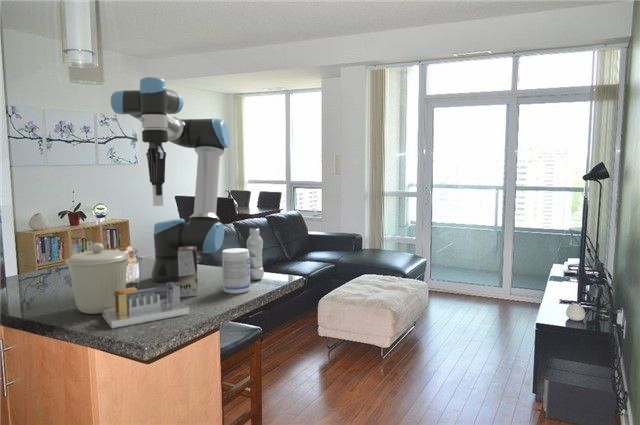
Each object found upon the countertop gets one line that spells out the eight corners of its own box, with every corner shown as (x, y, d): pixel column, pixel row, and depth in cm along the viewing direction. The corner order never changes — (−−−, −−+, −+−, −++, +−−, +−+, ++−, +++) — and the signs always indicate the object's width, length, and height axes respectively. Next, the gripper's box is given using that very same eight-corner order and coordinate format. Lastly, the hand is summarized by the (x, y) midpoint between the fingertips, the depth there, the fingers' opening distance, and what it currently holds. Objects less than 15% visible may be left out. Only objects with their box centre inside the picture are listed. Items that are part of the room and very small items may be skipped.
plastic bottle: (243, 280, 189) (242, 229, 187) (255, 276, 195) (253, 227, 193) (256, 282, 186) (254, 230, 184) (267, 278, 191) (266, 228, 189)
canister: (141, 309, 153) (138, 242, 151) (80, 322, 141) (76, 250, 139) (118, 298, 166) (115, 236, 164) (60, 309, 154) (56, 243, 152)
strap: (113, 296, 144) (113, 289, 143) (173, 288, 153) (173, 281, 153) (116, 299, 141) (115, 292, 141) (177, 290, 151) (176, 283, 151)
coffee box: (198, 296, 168) (196, 249, 166) (179, 297, 166) (177, 250, 165) (198, 289, 177) (196, 245, 175) (179, 290, 175) (178, 246, 173)
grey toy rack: (102, 315, 147) (100, 289, 146) (174, 303, 160) (173, 279, 159) (112, 328, 136) (110, 300, 135) (189, 313, 148) (188, 288, 147)
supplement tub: (254, 291, 173) (253, 250, 171) (229, 296, 167) (228, 253, 166) (243, 286, 181) (242, 246, 179) (219, 289, 176) (217, 249, 174)
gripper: (136, 130, 154) (140, 205, 156) (148, 128, 143) (151, 208, 146) (160, 130, 158) (164, 203, 160) (173, 128, 147) (176, 206, 150)
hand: (158, 205), depth 153 cm, fingers closed
